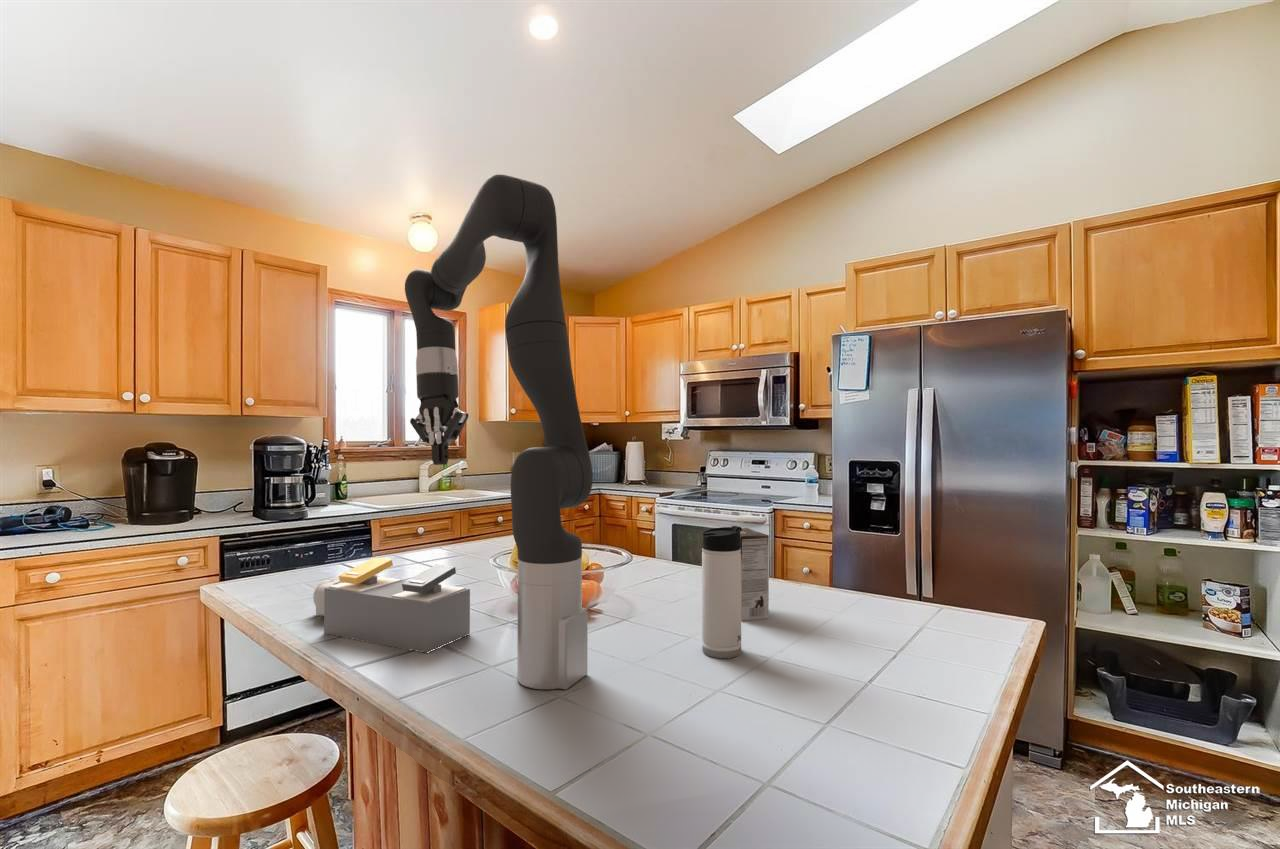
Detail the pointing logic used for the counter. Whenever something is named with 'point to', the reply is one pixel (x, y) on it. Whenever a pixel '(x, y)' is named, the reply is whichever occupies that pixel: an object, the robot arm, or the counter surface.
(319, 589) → the cable organizer
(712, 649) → the travel mug
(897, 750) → the counter surface
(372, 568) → the amber rocker
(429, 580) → the black rocker
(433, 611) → the grey switch box
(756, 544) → the coffee box
